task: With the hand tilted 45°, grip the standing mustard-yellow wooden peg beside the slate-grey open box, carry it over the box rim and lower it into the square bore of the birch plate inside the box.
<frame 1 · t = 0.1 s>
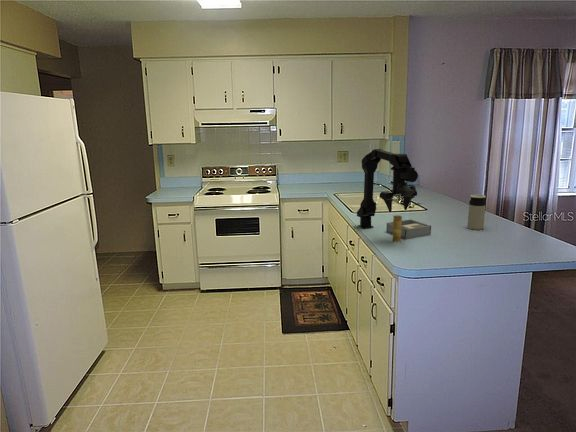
hand: (397, 211, 202), 15 cm above the countertop, tool pointing down, fingers open, 9 cm apart
bore box: (408, 233, 215), on the countertop
travel mug: (475, 228, 222), on the countertop
peg: (396, 240, 203), on the countertop
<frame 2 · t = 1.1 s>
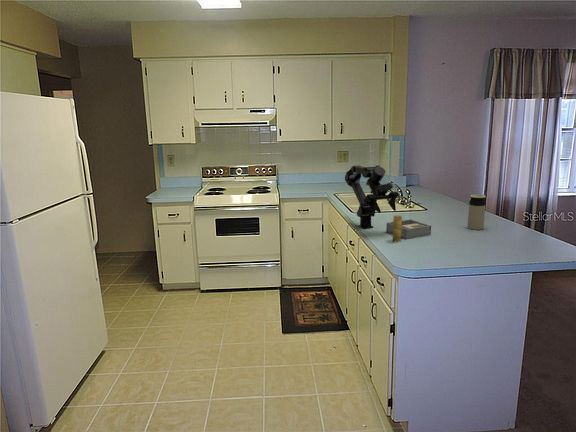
hand: (387, 211, 207), 13 cm above the countertop, tool tilted 45°, fingers open, 9 cm apart
nothing on the countertop moved.
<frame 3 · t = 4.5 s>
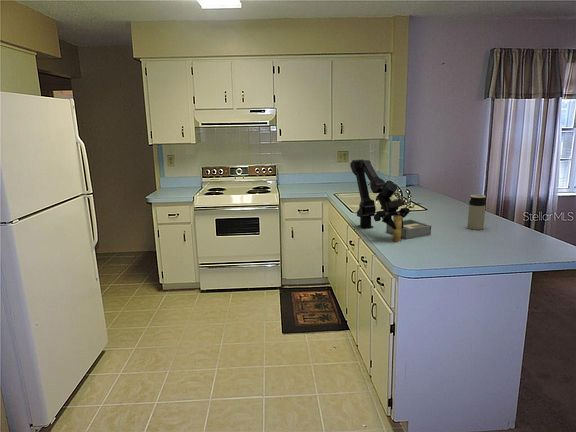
hand: (399, 228, 200), 7 cm above the countertop, tool tilted 45°, fingers closed on peg, 4 cm apart
peg: (396, 240, 203), on the countertop, touching gripper
everything else where it was.
when the fingers open (9 cm above the countertop, at t = 9.2 s): peg stays where it is, resting on bore box.
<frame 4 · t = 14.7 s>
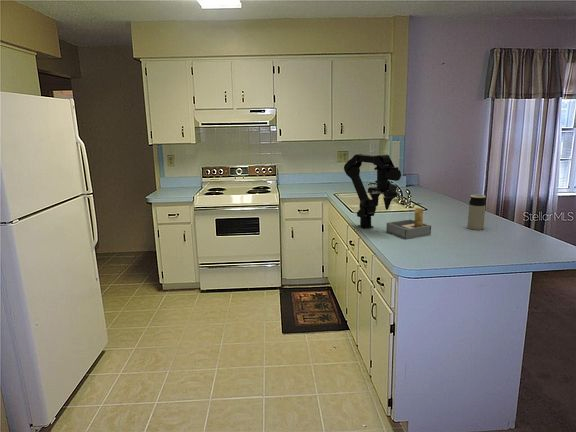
hand: (381, 207, 218), 13 cm above the countertop, tool pointing down, fingers open, 9 cm apart
peg: (417, 232, 213), point 1 cm above the countertop, touching bore box
everything else where it was.
at the end: peg 0.0 cm from the target spot on the bore box, point 1.0 cm above the bore box's base; peg tilted 0°; the gripper is holding nothing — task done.
